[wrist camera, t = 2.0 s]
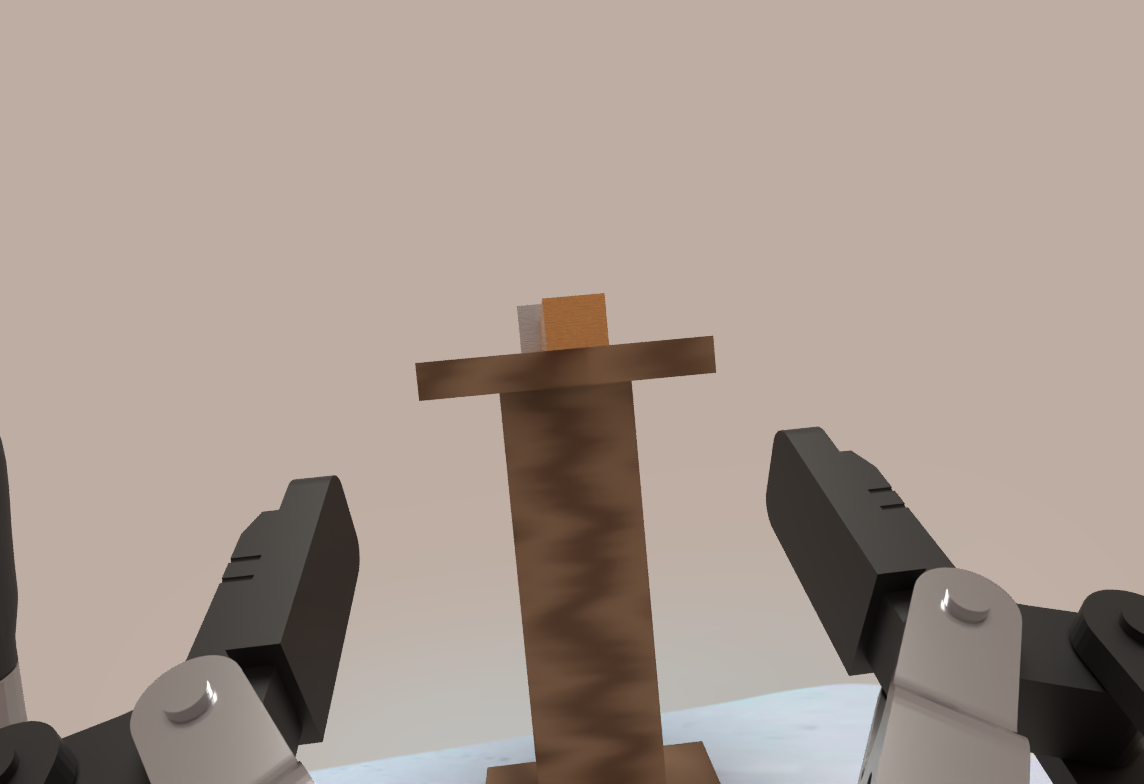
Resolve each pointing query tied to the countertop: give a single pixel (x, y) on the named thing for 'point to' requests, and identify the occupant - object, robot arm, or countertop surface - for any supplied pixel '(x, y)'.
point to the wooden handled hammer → (563, 323)
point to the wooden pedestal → (582, 555)
